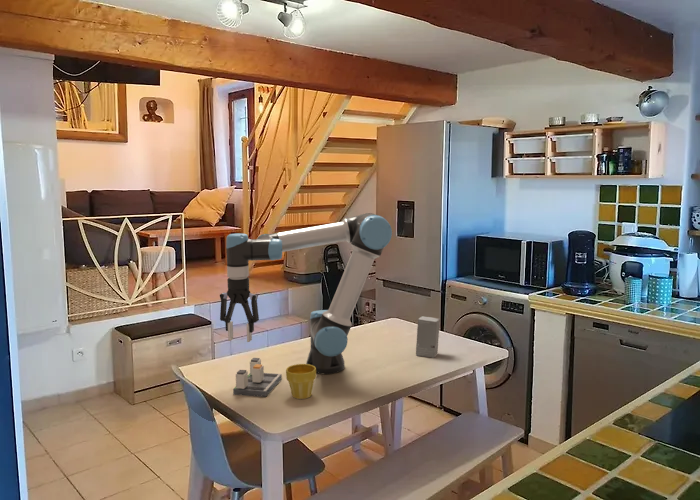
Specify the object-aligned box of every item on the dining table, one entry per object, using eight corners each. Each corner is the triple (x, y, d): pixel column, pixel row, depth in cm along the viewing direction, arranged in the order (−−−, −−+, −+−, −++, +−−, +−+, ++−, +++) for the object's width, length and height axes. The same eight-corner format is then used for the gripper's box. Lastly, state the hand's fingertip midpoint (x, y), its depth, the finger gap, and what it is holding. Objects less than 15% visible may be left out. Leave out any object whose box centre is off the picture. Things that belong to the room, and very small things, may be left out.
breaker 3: (263, 379, 203) (263, 364, 202) (260, 382, 199) (260, 367, 199) (256, 378, 203) (255, 363, 203) (252, 382, 200) (252, 367, 199)
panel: (281, 379, 209) (281, 373, 208) (265, 397, 192) (265, 391, 192) (251, 376, 211) (251, 371, 211) (233, 394, 195) (233, 388, 194)
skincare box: (415, 355, 235) (416, 319, 233) (420, 350, 242) (420, 315, 239) (435, 358, 232) (436, 321, 230) (439, 353, 238) (440, 317, 236)
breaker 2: (261, 372, 210) (260, 357, 209) (257, 375, 206) (257, 360, 206) (253, 371, 210) (253, 357, 210) (250, 374, 207) (249, 360, 206)
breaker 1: (248, 385, 197) (247, 369, 196) (244, 388, 194) (243, 373, 193) (240, 384, 198) (239, 369, 197) (236, 388, 194) (235, 372, 194)
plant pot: (286, 390, 198) (286, 363, 197) (316, 389, 199) (315, 362, 198) (286, 402, 188) (285, 374, 187) (316, 401, 189) (316, 373, 188)
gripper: (267, 276, 199) (269, 338, 202) (217, 274, 203) (219, 335, 206) (260, 280, 192) (261, 345, 195) (208, 278, 196) (210, 341, 199)
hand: (240, 340), depth 201 cm, fingers open, 6 cm apart
